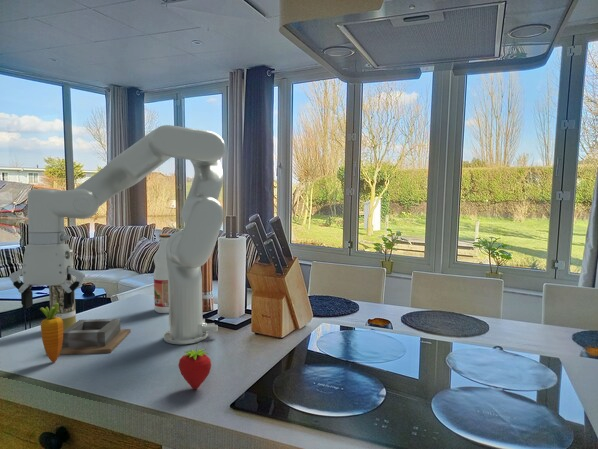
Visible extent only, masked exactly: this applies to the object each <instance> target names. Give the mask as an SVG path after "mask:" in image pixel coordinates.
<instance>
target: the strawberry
mask: <svg viewBox="0 0 598 449" xmlns="http://www.w3.org/2000/svg"><path fill="white" fill-rule="evenodd" d="M196 343H197V344H196V350H193V349H190V350H187V351H184V353H185V354H183V356H181V357H180V359H179V362H178V365H177V366H178V369H179V371H180V375H181V376H182V377H183V379H184V380H185V381H186V382H187V383H188V385H189V386H190V388H192V389H193V390H197V389H199V388H200V387H201V385H202V383H204V382H205V381H206V378H207V377H208V375H209V374H210V373H211V369H212V361H211V359H210V358H209V356H207V355H209V354H208V352H205V350H206V349H207V348H203V349H198V346H199V342H196Z"/></svg>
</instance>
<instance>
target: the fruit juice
mask: <svg viewBox="0 0 598 449" xmlns="http://www.w3.org/2000/svg"><path fill="white" fill-rule="evenodd" d="M172 234H173V233H166V232H165V233H160V234H159V235H158V237H159V240H160V242H159V246H158V249H157V250H156V252H155V254H154V256H153V263H154V266H155V267H154V271H153V292H154V293H153V294H154V296H153V298H154V311H155V312H156V313H159V314H169V296H168V269H167V260H166V251H165V250H166V243H167V241H168V239H169V237H170V236H171V235H172Z"/></svg>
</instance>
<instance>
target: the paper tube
mask: <svg viewBox="0 0 598 449" xmlns="http://www.w3.org/2000/svg"><path fill="white" fill-rule="evenodd" d="M69 249H70V253H71V258H72V267H73V269H75V268H74V250H73V248H69ZM71 282H72V283H74V282H75V276H73V279H72V281H71ZM48 290H49V292H48V294H49V311H50V310H51V308H52V307H55V304H56V303H58V304H59V306H58V309H57V310H59V312H58V313H57V314H56V316H55V317H60V318H61V319H62V321H63V331H64V330H66V329H67V328H69V327H70V326H71V325H73V324H74V323H76V322H77V320H76V319H77V318H76V317H77V316H76V314H77V313H76V296H75V295H76V294H75V292H76V290H74V304H73V306H72V307H70V308H68V309H65V308H64V293H66V291H65V290H64V289H63V288H62V286H61V285H48ZM52 313H53V312H52Z"/></svg>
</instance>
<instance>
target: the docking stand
mask: <svg viewBox="0 0 598 449" xmlns="http://www.w3.org/2000/svg"><path fill="white" fill-rule="evenodd" d="M130 333H131V328H123V329H122V328H121V318H96V319H93V318H92V319H79V320H76V323H74V324H73V325H71V326H70V327H69V328H67V329H66V330H64V331H63V342H62V348H61V351H60V354H59V356H60V355H83V354H85V355H87V354H110V353H112V352H113V351H114V350H115V349H116V348H117V347H119V345H120V344H121V343H122V342H123V341H124V340H125V339H126V338H127V337H128V336H129V334H130Z"/></svg>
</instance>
